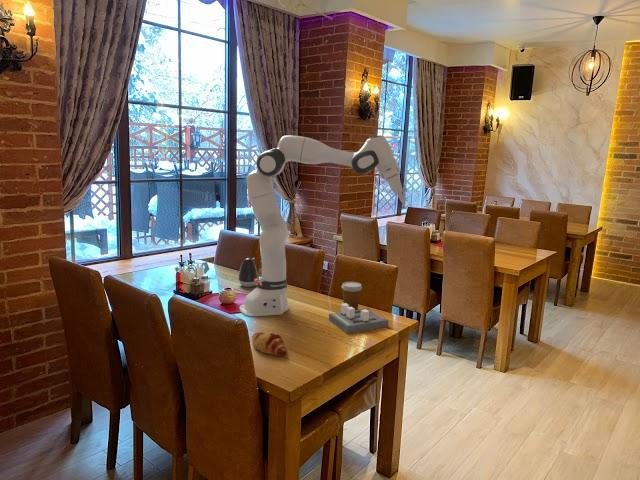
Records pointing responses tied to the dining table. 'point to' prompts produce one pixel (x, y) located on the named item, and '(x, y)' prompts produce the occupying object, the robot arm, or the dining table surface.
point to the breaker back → (344, 308)
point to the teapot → (196, 263)
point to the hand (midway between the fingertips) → (402, 200)
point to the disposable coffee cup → (351, 293)
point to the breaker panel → (358, 321)
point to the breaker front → (364, 315)
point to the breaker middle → (350, 312)
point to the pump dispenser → (248, 273)
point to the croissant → (269, 343)
